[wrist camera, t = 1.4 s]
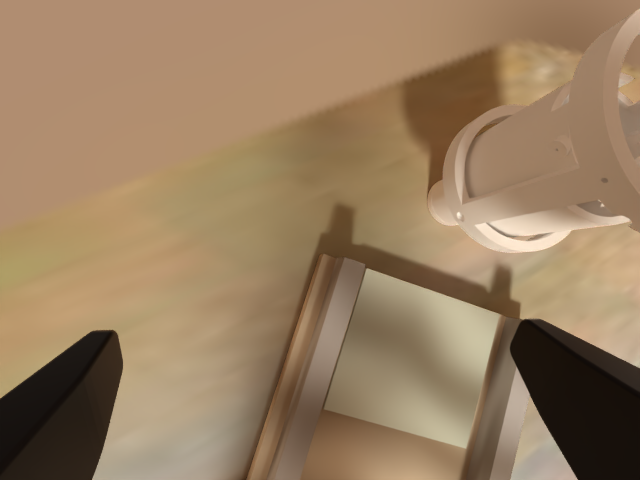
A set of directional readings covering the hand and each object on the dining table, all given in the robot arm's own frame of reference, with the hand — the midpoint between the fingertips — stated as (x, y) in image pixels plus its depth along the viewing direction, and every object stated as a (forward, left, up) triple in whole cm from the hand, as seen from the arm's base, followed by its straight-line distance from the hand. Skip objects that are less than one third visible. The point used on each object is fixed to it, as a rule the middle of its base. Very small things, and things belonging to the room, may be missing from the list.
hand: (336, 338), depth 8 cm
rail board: (-10, +2, -14) cm, 17 cm away
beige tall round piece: (-4, -11, -14) cm, 18 cm away
